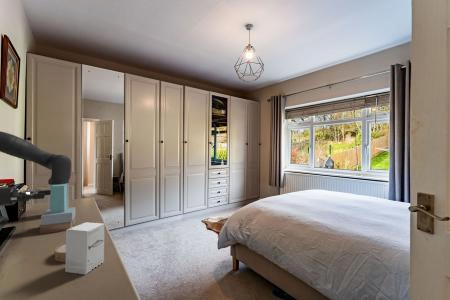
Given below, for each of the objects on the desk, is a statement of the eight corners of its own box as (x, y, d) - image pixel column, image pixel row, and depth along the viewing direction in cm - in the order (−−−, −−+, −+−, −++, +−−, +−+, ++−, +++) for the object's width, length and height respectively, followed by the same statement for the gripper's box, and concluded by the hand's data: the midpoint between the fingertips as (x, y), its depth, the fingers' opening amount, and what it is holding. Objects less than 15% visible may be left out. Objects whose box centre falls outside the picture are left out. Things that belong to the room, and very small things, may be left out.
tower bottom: (48, 226, 104) (48, 217, 104) (75, 223, 109) (75, 215, 109) (39, 234, 94) (39, 225, 94) (70, 230, 99) (70, 221, 99)
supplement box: (85, 275, 63) (86, 231, 63) (64, 272, 65) (64, 229, 65) (104, 262, 70) (105, 223, 70) (85, 260, 72) (85, 221, 72)
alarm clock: (52, 245, 77) (100, 228, 86) (55, 258, 77) (103, 240, 87) (53, 257, 68) (106, 237, 77) (57, 272, 68) (109, 250, 78)
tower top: (47, 218, 104) (47, 209, 104) (75, 215, 109) (75, 207, 109) (41, 225, 94) (41, 215, 94) (72, 221, 99) (72, 212, 99)
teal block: (54, 210, 103) (53, 184, 103) (66, 209, 105) (66, 184, 105) (50, 213, 98) (50, 186, 98) (64, 211, 100) (64, 185, 100)
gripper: (-10, 190, 86) (42, 188, 93) (8, 185, 99) (52, 183, 106) (-10, 209, 86) (42, 206, 93) (8, 202, 99) (52, 199, 106)
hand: (47, 194), depth 99 cm, fingers open, 8 cm apart
